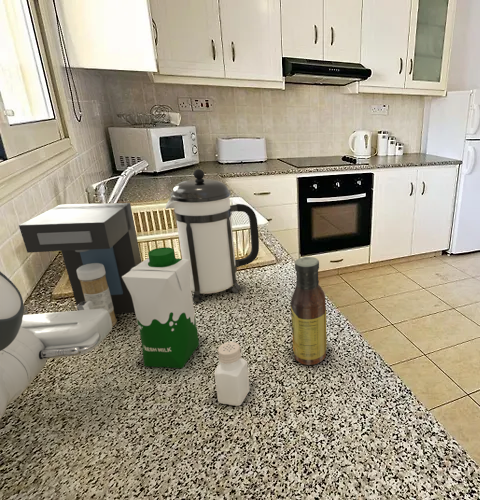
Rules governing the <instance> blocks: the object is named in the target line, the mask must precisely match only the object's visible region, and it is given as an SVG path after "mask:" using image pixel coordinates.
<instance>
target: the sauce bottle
mask: <svg viewBox="0 0 480 500" xmlns="http://www.w3.org/2000/svg"><path fill="white" fill-rule="evenodd" d="M319 269H320V260H319V259H318V258H316V257H313V256H303V257H298V258H297V259H296V260H295V261H294V270H295V272H296V274H295V275H296V282H295V283H296V285H295V287H294V291H293V293H292V296H291V299H290V316H291V317H290V319H291V320H290V321H291V338H292V340H291V341H292V352H293V354H294V355H293V356H294V359H295V360H296V362H298V363H299V364H300V365H304V366H305V365H306V366H314V365H318V364H319V363H321V362H323V360H325V358H326V356H327V348H328V344H327V343H328V341H327V340H328V339H327V337H328V336H327V335H328V334H327V333H328V332H327V306H326V295H325V291H324V289H323V288H322V286H321V285H319V284H320V280H319Z"/></svg>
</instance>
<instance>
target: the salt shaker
mask: <svg viewBox="0 0 480 500" xmlns="http://www.w3.org/2000/svg"><path fill="white" fill-rule="evenodd" d="M241 353H242V352H241V346H240V344H239V343H238V342H235V341H227V342H224V343H222V344H221V345H220V346H218V349H217V355H218V362H219V363H218V365H217V366H216V367H215V370H214V374H213V375H214V381H215V382H214V383H215V389H216V395H217V401H218V403H220V404H223V405H230V406H236V407H239V406H241V405H242V404H243V403H244V401H245V399H246V397H247V396H248V394H249V392H250V389H251V387H250V377H249V367H248V361H247V360H246V359H244V358H242V354H241Z"/></svg>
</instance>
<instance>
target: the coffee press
mask: <svg viewBox="0 0 480 500" xmlns="http://www.w3.org/2000/svg"><path fill="white" fill-rule="evenodd" d="M193 177H194V179H193V178H192V179H188V180H183V181H180V182H178V183H177V184H175V185H174V186H173V188H172V191H171V192H170V194H169V196H170V198H168V200H167V201H166V205H165V207H164V208H165V209H166V210H168V209H173V215H174V220H175V223H176V228H177V235H178V241H179V248H180V255H181V259H188V260H189V271H190V285H191V292H193V296H192V299H193V303H198V304H199V303H201V302H202V300H203V298H204V296H205V294H209V295H210V294H216V293H219V292H224V291H226V290H228V289H230V291H232V292H233V293H234V294H235V295H237V294H239V293H240V292H241V291H242V287H241V286H240V285H239V283H238V281H237V279H238V277H237V272H238V268H239V267H243V266H246V265H249V264H251V263H253V262H254V261H255V260H256V259H257V258H258V255H259V253H260V252H259V250H260V237H259V225H258V224H259V223H258V219H257V218H258V217H257V215H256V213H255V211H254V210H253V208H252V207H250V206H248V205H247V204H243V203H236V204H231V203H230V202H231V201H230V198H231V196H232V195H231V194H232V193H231V190H230V189H229V188H228V186H227V184H225V183H224V182H222V181H221V180H219V179H213V178H205V172H204V171H203V170H202V169H200V168H198V169H195V170H194V171H193ZM233 212H243V213H245V214H246V215H247V217H248V220H249V221H248V222H249V232H250V243H251V244H250V245H251V249H250V253H249V254H248V255H247V256H245V257H243V258H238V259H236V254H235V243H234V234H233V224H232V223H233V221H232V215H233Z"/></svg>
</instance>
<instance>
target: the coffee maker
mask: <svg viewBox="0 0 480 500" xmlns="http://www.w3.org/2000/svg"><path fill="white" fill-rule="evenodd" d="M18 228H19V230H20V234H21V237H22V241H23V243H24V247H25V250H26V253H27V254H28V253H49V252H50V253H51V252H61V255H62V258H63V262H64V265H65V269H66V273H67V276H68V279H69V283H70V287H71V291H72V294H73V297H74V301H75V305H76V306H77V305H78V304H80V302H84V301H85V298H84V294H83V290H82V286H81V282H80V280H79V279H78V276H77V271H76V270H77V269H78V268H79V267H81V266H83V265H86V264H91V263H100V264H103V265H104V268H105V272H106V273H105V274H106V275H105V277H106V281H107V284H108V287H109V291H110V295H111V299H112V303H113V308H114V314H115V315H120V314H129V313H130V314H131V313H132V314H133V313H135V309H134V305H133V300H132V296H131V294H130V292H129V290H128V288H127V286H126V284H125V282H124V280H123V279H122V276H124V275H125V274H126V273H128V272H129V271H130V270H131V269H132V268H133V267H135V266H137V265H138V264H140V263H141V262H143V261H142V256H141V251H140V246H139V241H138V240H139V239H138V236H137V231H136V226H135V220H134V216H133V211H132V205H131V202H106V203H105V202H101V203H65V204H62V203H61V204H58V205H56V206H53V207H52V208H50V209H48V210H46V211H45V212H43V213H41V214H39V215H36V216H35V217H33V218H30V219H28V220H27V221H25V222H23V223H20V224H19V225H18ZM76 309H77V310H78V308H77V307H76Z"/></svg>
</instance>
